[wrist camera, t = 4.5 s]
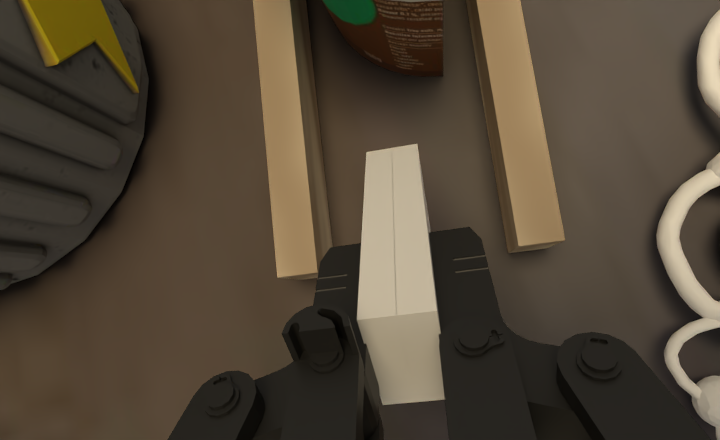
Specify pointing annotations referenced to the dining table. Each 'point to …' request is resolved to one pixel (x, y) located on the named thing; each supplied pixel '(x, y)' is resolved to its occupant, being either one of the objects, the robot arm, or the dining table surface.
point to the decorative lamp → (64, 124)
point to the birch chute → (304, 148)
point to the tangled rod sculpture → (714, 393)
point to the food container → (393, 32)
